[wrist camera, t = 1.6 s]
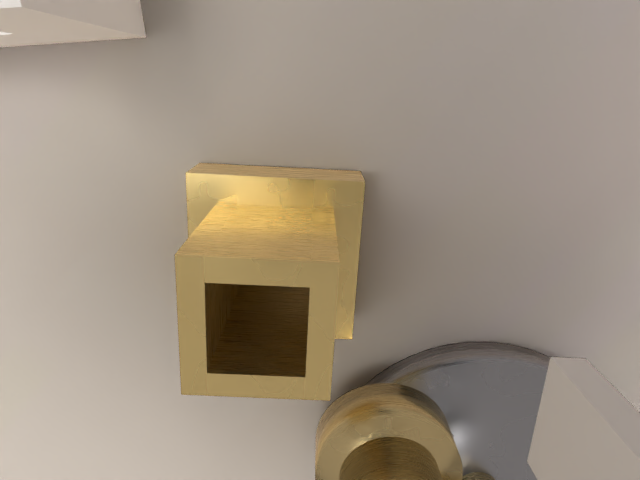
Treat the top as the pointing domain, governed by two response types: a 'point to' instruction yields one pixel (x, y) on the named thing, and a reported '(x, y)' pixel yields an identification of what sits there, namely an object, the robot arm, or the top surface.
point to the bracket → (68, 21)
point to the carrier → (438, 418)
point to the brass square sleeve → (266, 279)
